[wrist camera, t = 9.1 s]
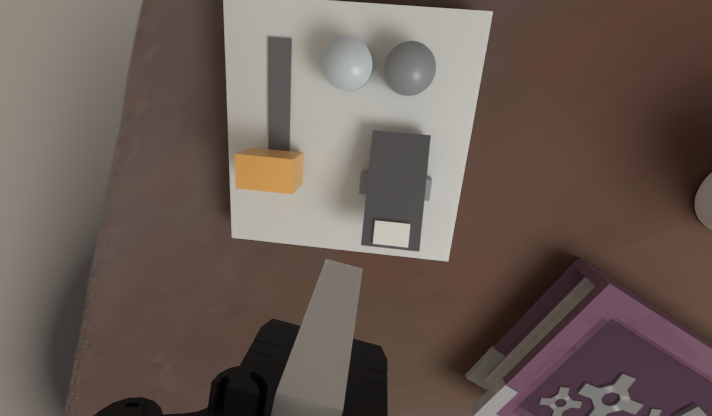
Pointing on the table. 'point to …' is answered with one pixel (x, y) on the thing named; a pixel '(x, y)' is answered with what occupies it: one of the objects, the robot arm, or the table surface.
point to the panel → (346, 114)
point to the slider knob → (269, 170)
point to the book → (595, 356)
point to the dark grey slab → (395, 190)
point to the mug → (704, 202)
